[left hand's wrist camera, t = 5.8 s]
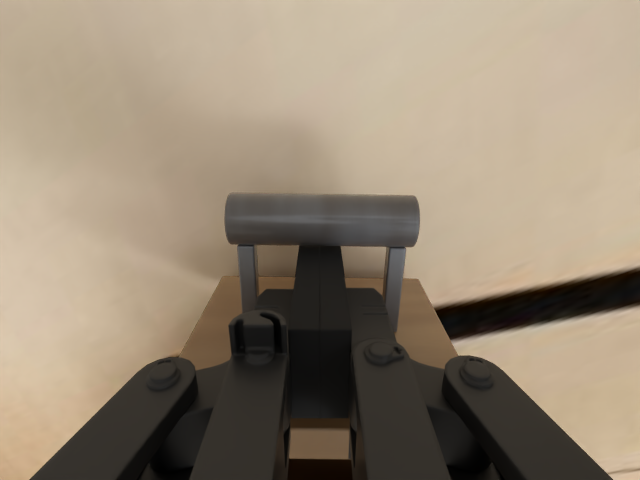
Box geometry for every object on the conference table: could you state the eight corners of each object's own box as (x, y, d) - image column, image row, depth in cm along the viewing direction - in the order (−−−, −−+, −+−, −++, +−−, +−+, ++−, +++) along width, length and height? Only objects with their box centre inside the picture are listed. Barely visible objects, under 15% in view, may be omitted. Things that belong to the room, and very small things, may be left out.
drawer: (212, 168, 16) (98, 246, 8) (432, 172, 16) (547, 253, 8) (247, 535, 26) (211, 744, 18) (385, 537, 26) (415, 747, 18)
